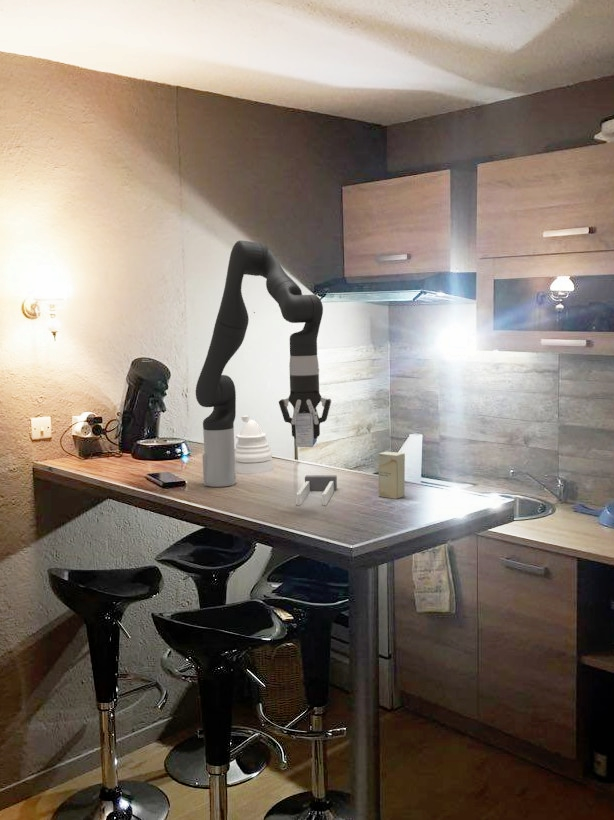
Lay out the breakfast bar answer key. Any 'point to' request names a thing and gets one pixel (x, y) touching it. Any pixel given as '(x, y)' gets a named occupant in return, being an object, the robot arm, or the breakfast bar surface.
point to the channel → (318, 487)
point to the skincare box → (391, 474)
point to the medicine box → (304, 429)
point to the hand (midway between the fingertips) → (306, 438)
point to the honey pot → (252, 449)
